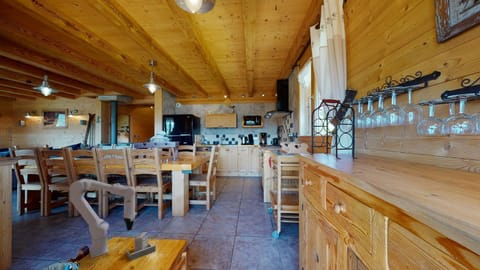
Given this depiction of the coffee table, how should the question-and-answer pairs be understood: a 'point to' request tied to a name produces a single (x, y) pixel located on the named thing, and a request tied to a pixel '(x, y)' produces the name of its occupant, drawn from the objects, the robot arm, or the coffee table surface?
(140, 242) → the medicine box
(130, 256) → the tray
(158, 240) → the coffee table surface
